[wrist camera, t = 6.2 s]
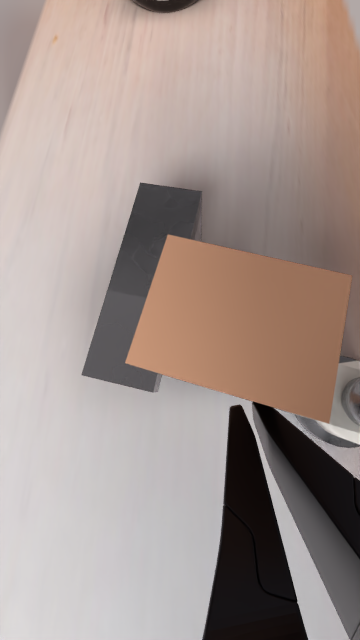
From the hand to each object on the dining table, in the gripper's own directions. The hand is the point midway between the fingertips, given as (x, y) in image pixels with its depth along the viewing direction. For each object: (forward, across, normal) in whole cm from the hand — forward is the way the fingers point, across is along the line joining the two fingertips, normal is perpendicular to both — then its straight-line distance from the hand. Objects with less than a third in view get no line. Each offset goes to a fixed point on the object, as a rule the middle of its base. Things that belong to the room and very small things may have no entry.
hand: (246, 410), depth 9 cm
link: (+5, -1, +3) cm, 6 cm away
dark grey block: (+10, +3, 0) cm, 10 cm away
